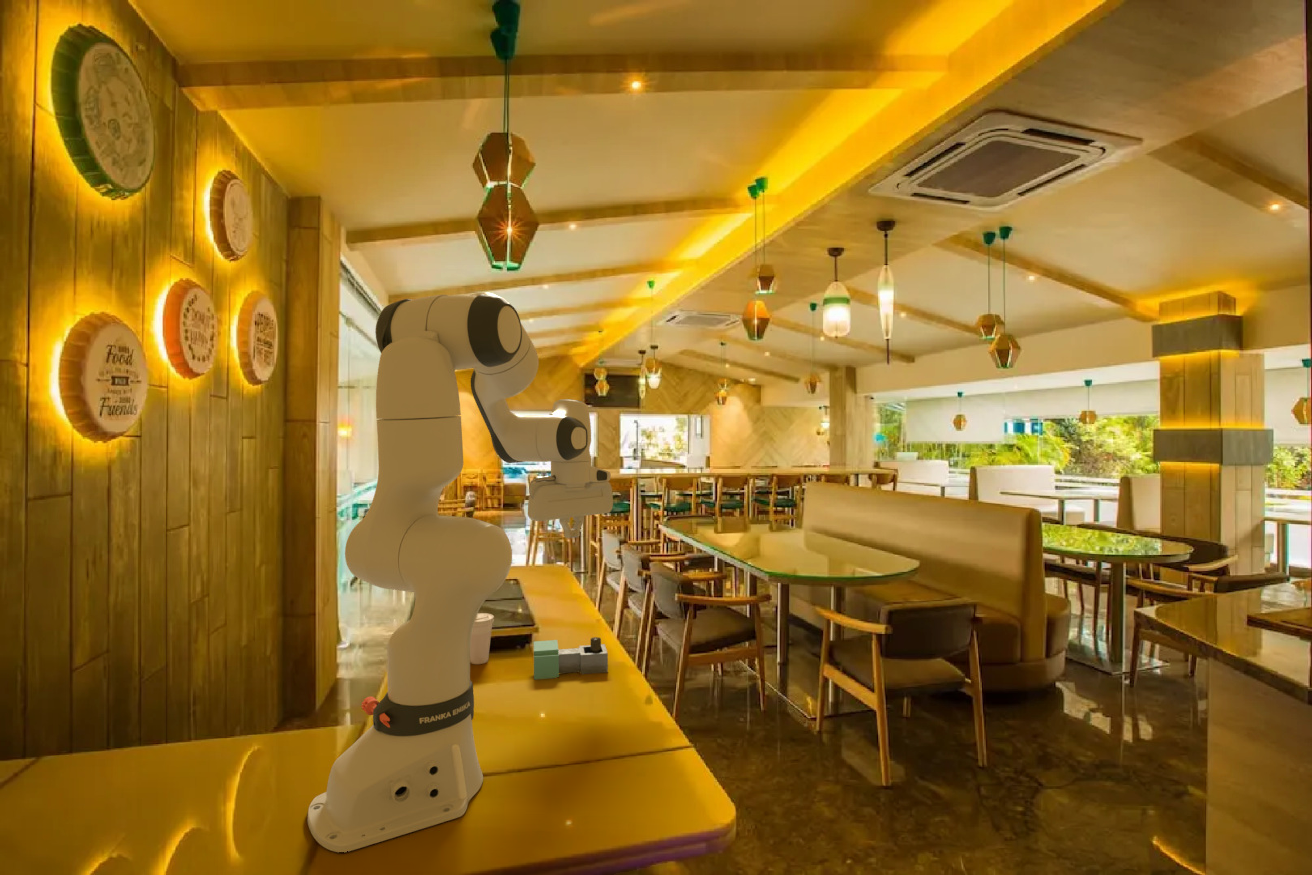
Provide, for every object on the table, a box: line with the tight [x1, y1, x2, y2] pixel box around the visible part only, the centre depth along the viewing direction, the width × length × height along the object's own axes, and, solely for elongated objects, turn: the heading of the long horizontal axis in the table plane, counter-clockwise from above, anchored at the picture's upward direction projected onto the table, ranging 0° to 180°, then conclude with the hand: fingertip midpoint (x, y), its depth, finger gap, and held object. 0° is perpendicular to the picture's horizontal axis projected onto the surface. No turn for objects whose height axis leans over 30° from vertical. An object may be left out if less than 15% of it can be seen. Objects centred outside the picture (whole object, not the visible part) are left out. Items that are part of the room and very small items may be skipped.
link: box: [558, 643, 609, 675], centre depth 133 cm, size 15×6×4 cm, turn 101°
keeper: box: [533, 639, 560, 680], centre depth 132 cm, size 5×7×5 cm
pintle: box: [590, 636, 602, 653], centre depth 135 cm, size 2×2×6 cm
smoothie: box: [470, 612, 495, 665], centre depth 139 cm, size 6×6×14 cm
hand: (571, 537), depth 138 cm, fingers closed
